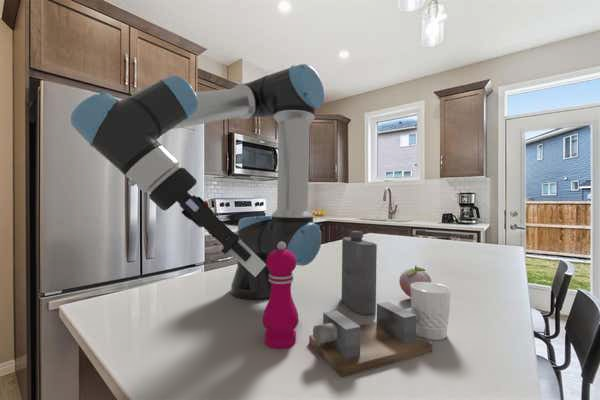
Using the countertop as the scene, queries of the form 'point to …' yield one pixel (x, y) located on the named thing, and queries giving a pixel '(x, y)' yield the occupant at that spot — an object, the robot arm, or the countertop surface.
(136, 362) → the countertop surface
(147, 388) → the countertop surface
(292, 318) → the pepper mill
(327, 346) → the block
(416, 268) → the decorative fruit
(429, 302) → the white cup
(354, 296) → the flask
